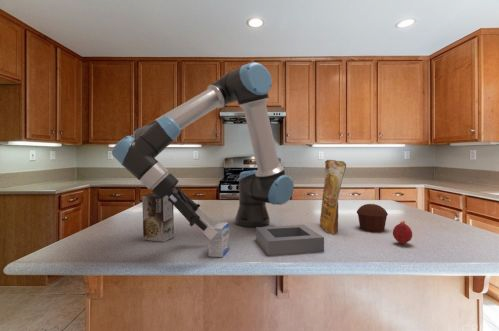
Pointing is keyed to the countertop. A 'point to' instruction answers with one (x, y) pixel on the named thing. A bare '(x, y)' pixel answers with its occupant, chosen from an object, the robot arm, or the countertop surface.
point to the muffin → (372, 217)
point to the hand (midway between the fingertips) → (212, 229)
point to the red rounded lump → (402, 233)
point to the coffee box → (157, 218)
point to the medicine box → (219, 240)
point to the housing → (289, 240)
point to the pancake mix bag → (331, 195)
